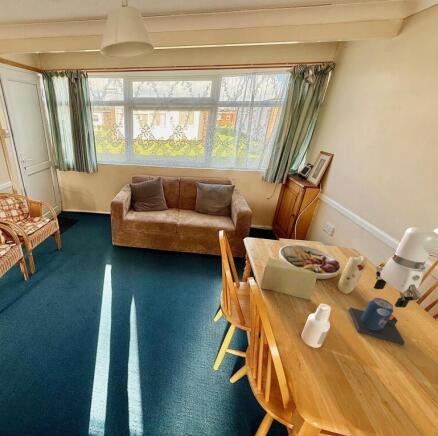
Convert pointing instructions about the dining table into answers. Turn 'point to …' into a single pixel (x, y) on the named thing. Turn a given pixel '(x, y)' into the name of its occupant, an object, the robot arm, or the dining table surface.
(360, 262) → the food model
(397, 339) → the scale
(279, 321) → the dining table surface
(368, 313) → the soda can
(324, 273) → the bowl
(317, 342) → the white bottle
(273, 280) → the cheese
